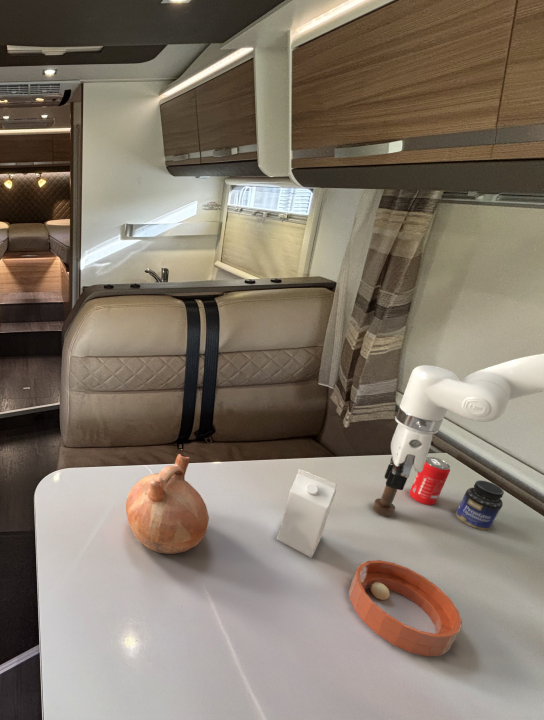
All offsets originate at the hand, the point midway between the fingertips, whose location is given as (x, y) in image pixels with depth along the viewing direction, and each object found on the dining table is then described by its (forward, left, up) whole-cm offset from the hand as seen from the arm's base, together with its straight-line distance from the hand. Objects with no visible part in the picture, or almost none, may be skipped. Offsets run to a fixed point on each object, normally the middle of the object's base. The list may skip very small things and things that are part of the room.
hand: (393, 483), depth 102 cm
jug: (+44, +36, -10) cm, 58 cm away
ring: (0, +31, -10) cm, 32 cm away
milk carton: (+17, +21, -10) cm, 29 cm away
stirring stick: (0, 0, -10) cm, 10 cm away
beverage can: (-9, -11, -10) cm, 17 cm away
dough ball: (+3, +28, -7) cm, 29 cm away
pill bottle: (-18, -8, -10) cm, 22 cm away
